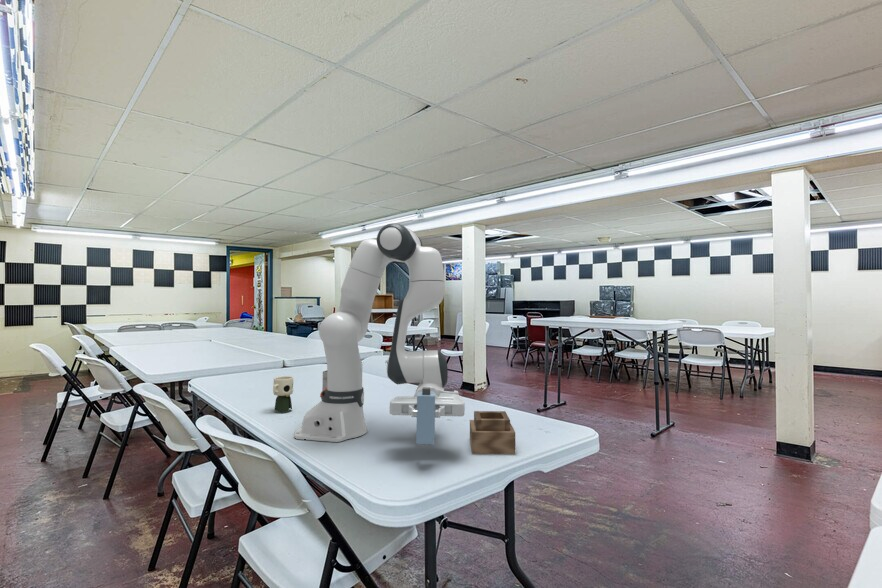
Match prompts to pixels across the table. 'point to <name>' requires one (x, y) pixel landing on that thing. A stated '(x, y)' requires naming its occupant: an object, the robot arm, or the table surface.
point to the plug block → (425, 417)
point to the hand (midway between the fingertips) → (425, 414)
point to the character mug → (283, 393)
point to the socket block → (491, 433)
